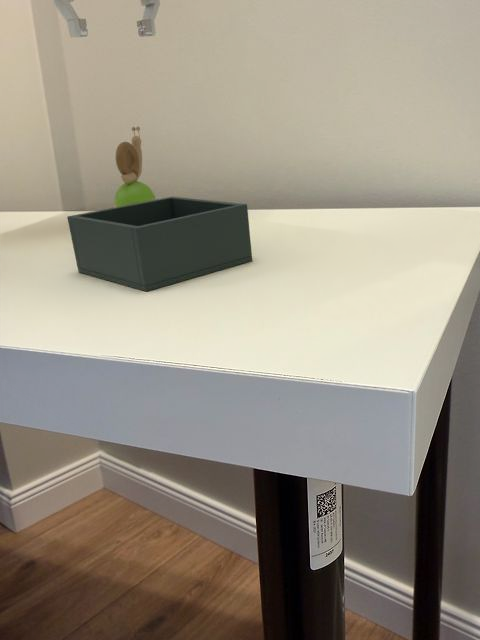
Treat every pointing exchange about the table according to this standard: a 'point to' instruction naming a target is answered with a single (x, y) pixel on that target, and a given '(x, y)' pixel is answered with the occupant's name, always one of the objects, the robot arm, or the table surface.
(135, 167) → the snail figurine
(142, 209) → the bin
